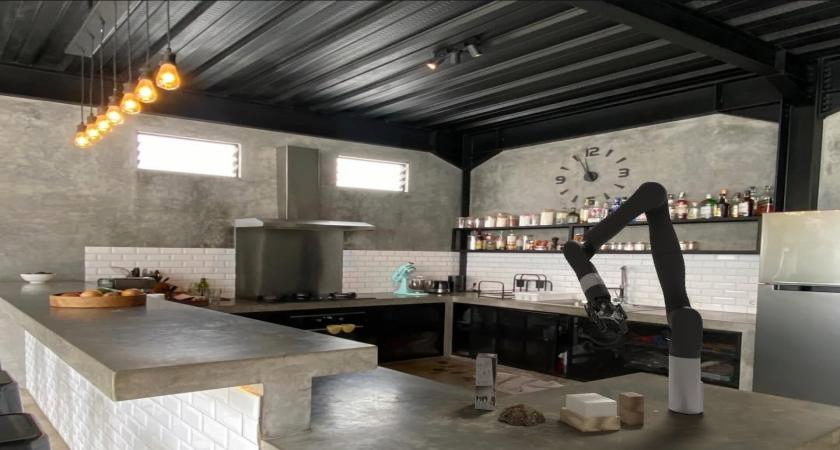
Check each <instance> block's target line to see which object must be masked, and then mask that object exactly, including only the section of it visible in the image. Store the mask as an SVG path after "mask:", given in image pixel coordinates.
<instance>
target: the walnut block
mask: <svg viewBox="0 0 840 450" xmlns="http://www.w3.org/2000/svg"><path fill="white" fill-rule="evenodd" d="M618 416H620V422H622V423H625V424H627V425H629V426H630V425H631V426H632V425H645V396H644V395H642V394H640V393H636V392H633V391H629V392H628V391H625V392H618Z"/></svg>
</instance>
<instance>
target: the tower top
mask: <svg viewBox="0 0 840 450" xmlns="http://www.w3.org/2000/svg"><path fill="white" fill-rule="evenodd" d="M617 404H618V401H616V400H614V399H611V398H609V397H606V396H603V395H600V394H598V393H595V392H591V393H576V394H575V393H574V394H565V407H566V409H568V410H570V411H572V412H575V413H577V414H579V415H581V416H583V417H586V418H592V417H606V416H616V415H618V414H617V408H618V407H617V406H618V405H617Z"/></svg>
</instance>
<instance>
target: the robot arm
mask: <svg viewBox="0 0 840 450" xmlns="http://www.w3.org/2000/svg"><path fill="white" fill-rule="evenodd" d="M668 200H669V199H668V191H667V189H666V187H665V186H664V185H663V184H661V183H660V182H659V181H656V180H649V181H645V182H643V183H641V184H640V186H638V188H636V190H635V191H634V192H633V193H632V195H631V196H630V197H628V198H627V200H626V201H624V202H623V203H622V204H621V205H620V206H618V207H617V208H616V209H615V210H614V211H612V212H611V213H610V214H609V215H607V216H605V217H604V218H603V219H602V220H600V221H599V222H597V223H596V224H595V225H593V226H592V227H591V228H589V229H588V230H587V231H586V232H585V238H586V240H585V241H584V242H583V243H582V242H580V241H579V240H576V239H570V240H567V241H565V243H564V245H563V247H562V253H563V256H564V259H565V260H566V262H567V264H568V265H569V266H570V268H571V269H572V270H573V272H574V274H575V276H576V278H577V281H578V283H579V284H580V288H581V291H582V293H583V294H584V297H585V299H586V301H587V302H586V303H585V304H584V305H583V308H584V310H585V313H586V315H587V317H588V320H589V321H594V323H596V325H597V328H598V330H600V332H601V333H605V332H606V331H607V330H608V327H607V325H606V323H605V321H604V319H603V318H604V317H605V318H609V319H610V320H611V321H614V322H615V323H617V325H618V328H619V330H620V331H621V332H620V333H621V334H626V333H627V332H628V331H629V327H628V326H627V324H626V321H627V320H628V319H629V317H628V315H627V313H626V311H625V310H624V308H623V306H622V305H621V303H617V304H614V303H613V302H612V295H611V293H610V292H609V289H608V287H607V285H606V284H605V282H604V280H603V279H602V277H601V275H600V274H599V271H598V270H597V267H596V265H595V264H594V263H593V262H592V261H590V260H592V258H593V257H594V256H595V254H597V253H598V251H599V249H600V248H601V247H602V246H604V245H605V244H607V243H608V242H609V241H610V240H612V239H614V237H616V236H617V235H618V234H619V233H620V232H621V231H622V230H624V228H626V227H627V226H628V225H629V224H630V223H631V222H633V221H635V219H636V218H638V217H640V216H641V215H645V218H646V222H647V224H648V225H647V226H648V234H649V235H648V236H649V237H648V238H649V246H650V247H649V248H650V253H651V258H652V262H653V266H654V269H655V272H656V276H657V280H658V282H659V285H660V288H661V292H662V295H663V301H664V306H665V307H664V308H665V317H666V322H667V324H668V326H669V328H670V329H671V341H670V344H669V345H670V346H669V347H668V409H669V410H670V411H673V412H676V413H680V414H687V415H698V414H700V413H704V382H703V381H702V380H701V352H702V350H703V340H704V339H703V337H704V334H703V333H704V325H703V323H704V322H703V318H702V315H701V313H700V312H699V311H698V310H696V309H695V308H693V307H692V305H691V302H690V299H689V297H688V293H687V288H686V287H687V286H686V265H685V259H684V255H683V251H682V248H681V247H682V246H681V244H680V241H679V238H678V235H677V232H676V230H675V228H674V225H673V222H672V218H671V214H670V208H669V207H670V205H669V201H668ZM614 313H615V314H614ZM613 314H614V315H613Z"/></svg>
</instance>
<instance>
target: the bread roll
mask: <svg viewBox="0 0 840 450" xmlns="http://www.w3.org/2000/svg"><path fill="white" fill-rule="evenodd" d="M498 419H499V421H501V422H507V423H508V424H509V425H511V426H518V427H519V426H521V427H522V426H525V427H526V426H527V427H532V426H536V425H539V424H544V423H545V422H546V418H545V416H544V414H543V412H542V411H540V410H538V409H536V408H533V407H532V406H530V405H528V404H524V403H516V402H515V403H512V404H509V405H507V406H505V408H502V410H501V412H500V413H499V415H498Z"/></svg>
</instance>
